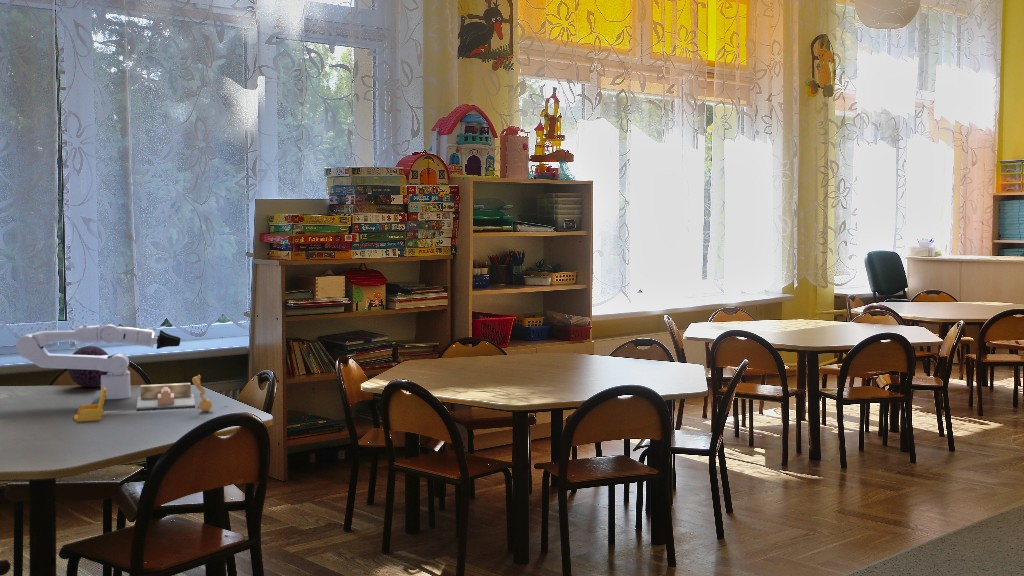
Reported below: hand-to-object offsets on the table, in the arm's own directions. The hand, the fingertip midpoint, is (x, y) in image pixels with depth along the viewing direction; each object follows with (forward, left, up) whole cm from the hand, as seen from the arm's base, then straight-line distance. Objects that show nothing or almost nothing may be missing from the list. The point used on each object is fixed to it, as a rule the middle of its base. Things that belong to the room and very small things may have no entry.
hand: (180, 341), depth 350 cm
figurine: (+6, -28, -19) cm, 35 cm away
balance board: (-5, -11, -19) cm, 23 cm away
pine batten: (-5, -3, -18) cm, 19 cm away
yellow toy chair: (-27, -27, -20) cm, 43 cm away
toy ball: (-31, +32, -19) cm, 48 cm away
